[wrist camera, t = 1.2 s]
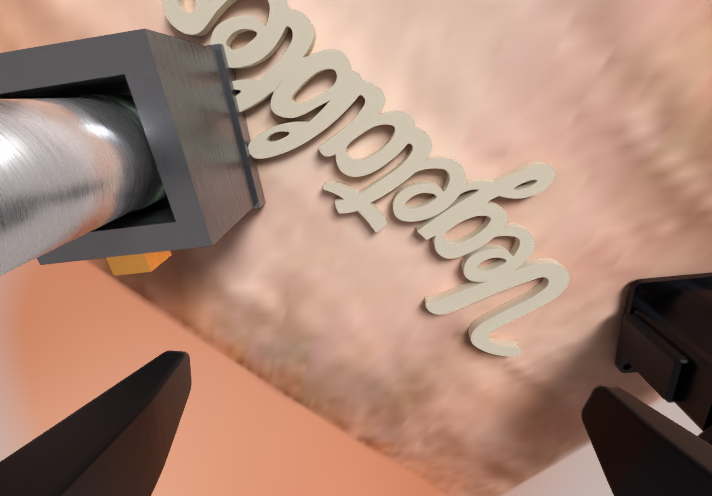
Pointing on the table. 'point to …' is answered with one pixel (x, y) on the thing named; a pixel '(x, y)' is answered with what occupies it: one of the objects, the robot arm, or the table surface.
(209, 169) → the stand collar
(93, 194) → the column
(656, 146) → the table surface
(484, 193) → the decorative sign
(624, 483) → the robot arm
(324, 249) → the table surface
